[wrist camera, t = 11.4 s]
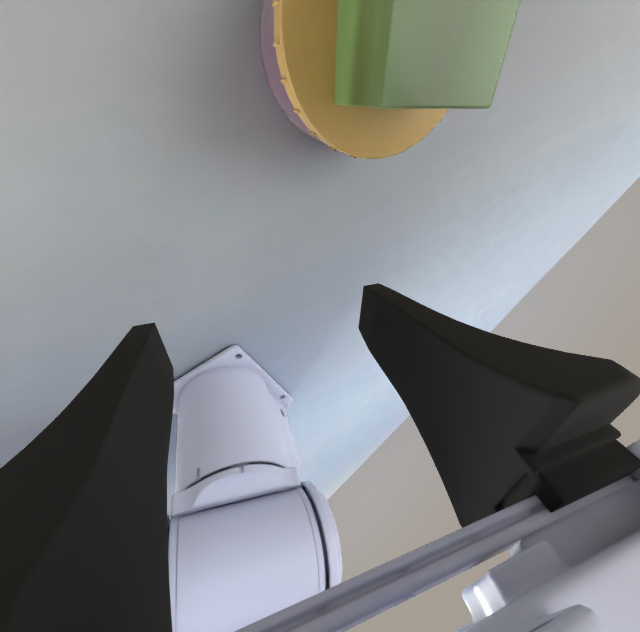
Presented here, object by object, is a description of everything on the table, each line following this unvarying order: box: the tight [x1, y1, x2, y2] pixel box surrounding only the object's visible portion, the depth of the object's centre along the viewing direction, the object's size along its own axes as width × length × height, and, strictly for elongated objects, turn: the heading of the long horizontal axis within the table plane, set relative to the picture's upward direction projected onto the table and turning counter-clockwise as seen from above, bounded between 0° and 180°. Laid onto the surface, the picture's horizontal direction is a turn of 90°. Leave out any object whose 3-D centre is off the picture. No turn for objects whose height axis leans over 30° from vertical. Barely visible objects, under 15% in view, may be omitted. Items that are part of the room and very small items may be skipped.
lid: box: [272, 0, 448, 159], centre depth 12 cm, size 9×9×1 cm
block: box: [334, 0, 521, 109], centre depth 10 cm, size 4×4×4 cm
